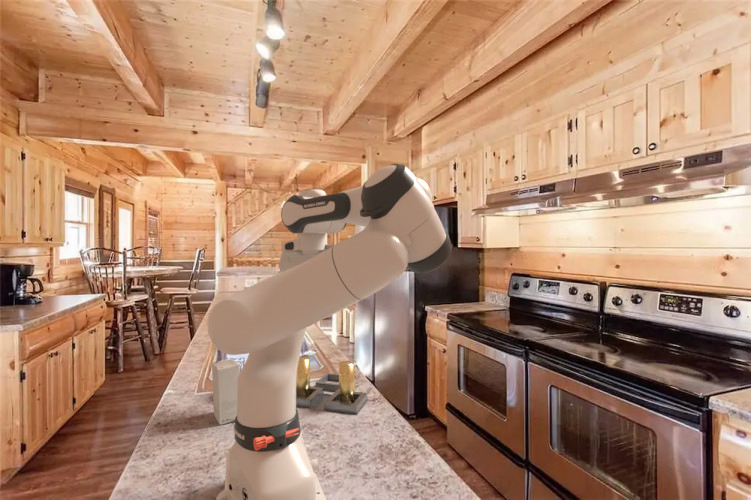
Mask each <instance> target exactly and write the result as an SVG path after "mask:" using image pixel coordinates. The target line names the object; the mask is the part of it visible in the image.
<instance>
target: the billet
mask: <svg viewBox="0 0 751 500" xmlns="http://www.w3.org/2000/svg"><path fill="white" fill-rule="evenodd" d="M338 365H339V366H338V374H339V381H338V384H339V402H345V403H352V404H353V403H354V392H355V362H354V361H353V360H352V361H351V360H343V361H340V362H339V363H338Z"/></svg>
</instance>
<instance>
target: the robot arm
mask: <svg viewBox="0 0 751 500" xmlns="http://www.w3.org/2000/svg"><path fill="white" fill-rule="evenodd" d="M432 194H433V193H432V189H431V187H430V186H429V185H428V183H427V182H426V181H424V180H423V179H422V178H420V177H418V176H416V175H415V174H414V173H413V172H412V170H411V169H409V167H407V166H406V165H405V164H401V163H392V164H389V165H386V166H383V167H380V168H378V169H377V170H376V171H374V172H373V173H372V174H371V175H370V176H369V177H368V178H367V180H366V181H365V182H364V183H363V185H361V186H358V187H354V188H350V189H346V190H344V191H340V192H337V193H336V192H335V193H330V194H327V193H326V191H325V190H323V189H321V188H310V189H305V190H303V191H301V192H300V194H299V195H297V194H292V195H291V196H290V197H289V198H288V199H287V200H286V201H285V202H284V203H283V205H282V207H281V211H280V212H281V215H280V216H281V218H280V219H281V221H282V223H283V225H284V226H285V228H286V229H287V230H288V231H289V232H290V233H292V234H296V235H297V238H295V239H292V240H290V241H287V242H286V241H285V242H284V243H282V245H281V249H282V252H281V255H280V258H279V273H277V274H275V275H272V276H270V277H268V278H266V279H265V278H264V279H263V280H261V281H259V282H257V283H255V284H253V285H251V286H248V287H246V288H244V289H242V290H241V291H238V292H236V293H234V294H232V295H230V296H228V297H226V298H224V299H222V300H220V301H219V302H217V303H216V304H215V305H214V306H213V307H212V308H211V310H210V311H209V314H208V318H207V333H208V337H209V338H210V341H211V343H212V345H214V346H215V348H216V349H217V350H219V351H220V352H221V353H223V354H226V355H231V356H237V355H246V354H248V355H247V358H246V361H245V362H244V365H243V366H242V368H241V369H240V373H239V375H238V379H237V416H236V418H235V422H234V425H233V432H234V443H233V444H232V447H230V449H229V450H228V452H227V453H226V455H225V456H226V459H225V475H224V476H225V479H224V489H223V490H222V491H220V492H219V493H218V494H217V496H216V498H215V500H327V498H326V495H325V494H324V493H325V492H324V491H323V488H322V486H321V483H320V481H319V479H318V476H317V474H316V473H318V472H320V465H319V460H318V459H317V458H314V459H310V457H309V452H310V445H309V443H308V444H307V443H306V444H305V441H304V438H303V433H302V429H301V420H300V415H299V411H298V409H297V407H296V377H297V368H298V362H299V357H301V352H302V347H303V343H304V339H305V333H306V330H307V328H308V327H310V326H312V325H314V324H316V323H318V322H320V321H323V320H324V319H327V318H329V317H330V316H333V315H335V314H337V313H338V312H339V313H340V312H341V311H343V310H345V309H347V308H349V307H350V306H353V305H356V304H358V303H360V302H361V301H363V300H365V299H367V298H369V297H370V296H373V295H374V294H376V293H377V292H379V291H381V290H382V289H384V288H385V287H387V286H388V285H390V284H391V283H393V282H394V281H395V280H396V279H398V278H399V277H400V276H402V275H403V274H404V273H405V271H406V270H407V269H408V270H409V271H411V272H413V273H414V274H428V273H430V272H433V271H435V270H437V269H439V268H440V267H442V266H443V265H444V264H445V263H446V261H447V260H448V258H449V257H450V255H451V253H452V249H453V248H452V242H451V239H450V236H449V232H448V231H447V230H446V229H445V228H444V226H443V225H444V224H443V223H442V221H441V219H440V217H439V215H438V213H437V211H436V209H435V205H434V203H433V195H432ZM347 224H348V225H352V226H353V225H355V226H359V227H360V226H361V227H365V228H364V229H362V231H359V232H358V233H356V234H354V235H352V236H349V237H348V238H345V239H343V240H342V241H340V242H338V243H335V244H328V234H337V233H340V232H343V230H344V229H345V228H346V226H347Z"/></svg>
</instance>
